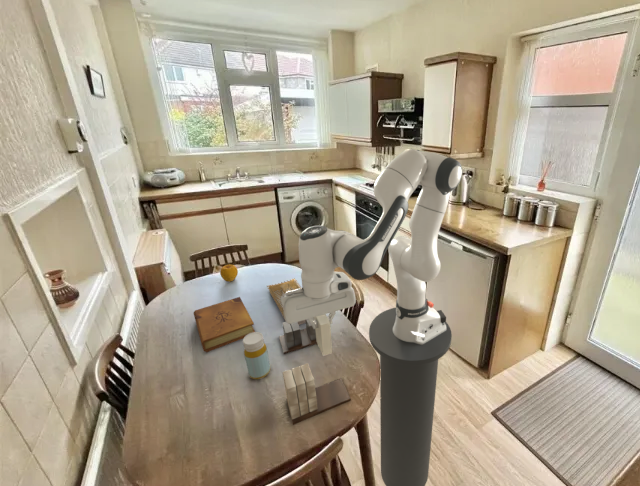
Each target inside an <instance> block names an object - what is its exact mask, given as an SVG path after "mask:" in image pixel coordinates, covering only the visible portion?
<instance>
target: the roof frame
mask: <svg viewBox="0 0 640 486" xmlns="http://www.w3.org/2000/svg"><path fill="white" fill-rule="evenodd" d="M300 288H301V285H300V283H299V282H298V280H297V279H295V277H294V278H291V279H289V280H286V281H285V280H283V281H280V283H279V282H278V283H274V284H269V285H267V289H268V292H269V295H270V296H271V297H272V299H273V301H274V303H275V305H276V306H277V308H278V310H279V312H280V314H281V315H282V317H283V319H284V320H285V318H284V307H283V306H282V304H281V297H282V295H284V294H285V293H286V292H288V291H294V290H296V289H300ZM303 324H306V323H305V320H303V321H299V322H298V325H299V326H301V325H303Z"/></svg>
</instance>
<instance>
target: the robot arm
mask: <svg viewBox="0 0 640 486" xmlns="http://www.w3.org/2000/svg"><path fill="white" fill-rule="evenodd" d="M462 177H463V167H462V164H461V162H460V161H458V160H457V159H456V158H453V157H451V156H449V157H448V156H446V155H444V154H440V153H437V152H430V151H425V150H424V151H423V150H420V149H415V148H406V149H404V150H402V151H401V152H400V153H398V154H397V155H396V156H395V157H394V158H393V159H391V161H390V162H389V163H388V164H387V165H386V167H385V168H384V169H382V171H381V172H380V174H379V175H378V176H377V178H376V179H375V182H374V184H373V195H374V198H375V199H376V202H378V203H379V205H380V206H381V207H382V213H381V216H380V217H379V219H378V221H377V223H376V224H375V226H374V227H373V229H372V231H371V232H370V234H369V236H368V237H367V238H364V239H362V238H360V237H359V236H357V235H355V234H354V233H351V232H349V231H346V230H342V229H339V230H335V229H332V228H328V227H327V226H325V225H313V226H309V227H307V228H305V229H304V230H303V231H302V232H301V233H300V235H299V238H298V247H297V248H298V261H299V265H300V267H301V273H300V280H301V287H300V289H296V290H294V289H293V290H294V291H291V290H289V291H288V290H287V291H288V292H286V293H285V294H282V297H281V296H280V297H281V299H280V301H281V304H282V308H283V307H284V317H283V319H284V318H285V319H284V322H287V323H288V324H292V323H296V322H299V321H303V320H306V319H308V320H309V322H310V323H311V324H312V327H313V329H316V328H318V322H317V320H314V317H317V316H320V315H324V314H326V315H327V314H328V316H327V318H328V320H329V321H330V325H332V324H333V319H334V318H335V316H336V313H337V312H338V311H341V310H344V309H345V310H346V309H348V308H351V307H354V306H355V305H356V302H357V300H356V298H357V297H356V293H355V289H354V288H353V287H352V285H353V283H352V280H351V279H350V277H351V278H352V279H354V280H357V281H364V280H367V279H370V278H371V277H373V276H375V274H376V273H377V272H378V271H379V269H380V267H381V265H382V262H383V260H384V257H385V254H386V253H387V250H388V254H389V257H390V258H391V263H392V265H393V270H394V275H395V280H396V287H397V288H396V296H397V297H396V300H395V308H396V320H395V323H394V326H393V333H394V335H395V336H396V337H397V338H399V339H400V340H403V341H406V342H414V343H417V344H420V345H423V344H424V343H426V342H428V341H429V340H431V339H433V338H434V337H436V336H438V335H439V334H441V333H443V332H444V331H446V325H445V323H444V322H447V316H446V315H445V313H444V312H443V311H442V309H438V310H436V309H435V308H434V306H435V304H434V303H433V302H432V301H431V300H430V301H429V300H428V299H427V297H426V293H427V284H426V283H429V282H431V281H433V280H435V279H436V278H437V277H438V275H439V274H440V273H441V268H442V264H441V261H440V257H439V253H438V237H439V233H440V230H441V226H442V223H443V220H444V218H445V215H446V211H447V208H448V205H449V201H450V198H451V197H450V196H451V192H452V191H454V190H455V189H456V188H457V187H458V186H459V184H460V183H461V180H462ZM418 186H422V188H421V190H420V192H419V194H418V196H417V198H416V201H415V203H414V207H413V210H412V213H411V215H410V218H409V222H408V226H409V229H410V235H411V236H410V237H411V238H409V237H406V236H402V235H400V236H396V235H397V233H398V231H399V230H400V227H401V226H402V224H403V222H404V220H405V218H406V216H407V215H408V212H409V200H410V198H411V196H412V194H413V193H414V192H415V191H416V189H417V187H418ZM338 268H340V269H342V270H343V271H335V269H338ZM348 275H349V276H350V277H349V276H348ZM281 304H280V305H281Z"/></svg>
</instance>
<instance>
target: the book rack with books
mask: <svg viewBox="0 0 640 486" xmlns="http://www.w3.org/2000/svg"><path fill="white" fill-rule="evenodd" d="M282 378H283V384H284V390H285V395H286V396H285V397H286V404H287V407H288V411H289V415H290V416H289V417H290V420H291V423H292V425H293V426H294V425H296V424H298V423H301V422H303V421H306V420H308V419H310V418H314V417H315V416H318V415H320V414H322V413H325V412H327V411H329V410H332V409H335V408H337V407H339V406H341V405H344V404H347V403H349V402H351V401H352V399H351V396H350V394H349V392H348V390H347V387H346V385H345V383H344V381H343V379H342V378H341V377H340V378H337V379H335V380H332V381H330V382H327V383H325V384H322V385H319V386H316V384H315V378H314V376H313V372H312V370H311V368H310V365H309V363H308V362H307V363H304V364H302V365H300V366H296V367H293V368H289V369H286V370H285V371H282Z"/></svg>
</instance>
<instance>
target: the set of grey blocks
mask: <svg viewBox="0 0 640 486" xmlns="http://www.w3.org/2000/svg"><path fill="white" fill-rule="evenodd" d="M304 324H305V328H302V329H301V328H300V325H298V322H296V323H292V324H288V323H287V322H286V321H284V322H282V325H281V326H282V330H283V335H280V336H278V339H279V343H280V346H281V349H282V353H283V355H287V354H290V353H293V352H296V351H299V350H302V349H306V348H309V347H311V346H315V345H318V344H317V341H316V331H315V329H313V327H312V324H311V323H310V322H309V320H308V319H306V320H305V323H304Z"/></svg>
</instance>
